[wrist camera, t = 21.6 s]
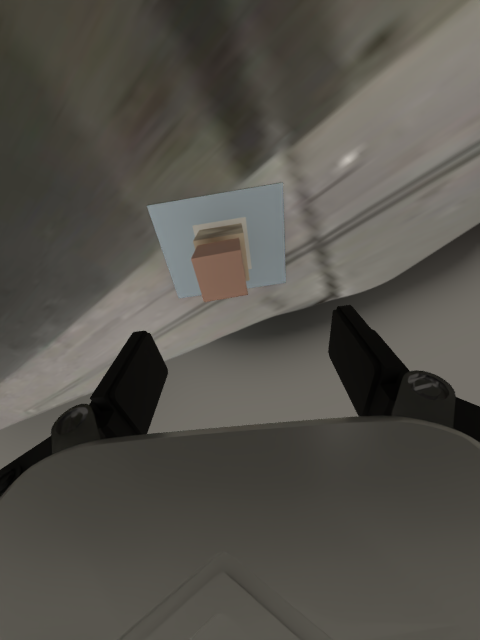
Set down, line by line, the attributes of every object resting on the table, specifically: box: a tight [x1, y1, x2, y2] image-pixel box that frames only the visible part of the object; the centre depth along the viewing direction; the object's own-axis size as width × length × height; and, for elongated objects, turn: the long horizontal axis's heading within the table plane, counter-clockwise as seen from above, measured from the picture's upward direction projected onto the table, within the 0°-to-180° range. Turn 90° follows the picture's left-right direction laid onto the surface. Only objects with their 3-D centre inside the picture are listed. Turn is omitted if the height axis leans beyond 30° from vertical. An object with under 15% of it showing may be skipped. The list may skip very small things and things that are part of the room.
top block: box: [191, 238, 248, 302], centre depth 25 cm, size 5×5×5 cm
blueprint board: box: [147, 182, 286, 298], centre depth 32 cm, size 18×14×1 cm
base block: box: [193, 223, 250, 281], centre depth 29 cm, size 6×6×6 cm
